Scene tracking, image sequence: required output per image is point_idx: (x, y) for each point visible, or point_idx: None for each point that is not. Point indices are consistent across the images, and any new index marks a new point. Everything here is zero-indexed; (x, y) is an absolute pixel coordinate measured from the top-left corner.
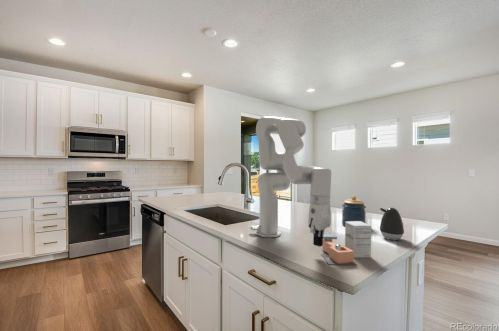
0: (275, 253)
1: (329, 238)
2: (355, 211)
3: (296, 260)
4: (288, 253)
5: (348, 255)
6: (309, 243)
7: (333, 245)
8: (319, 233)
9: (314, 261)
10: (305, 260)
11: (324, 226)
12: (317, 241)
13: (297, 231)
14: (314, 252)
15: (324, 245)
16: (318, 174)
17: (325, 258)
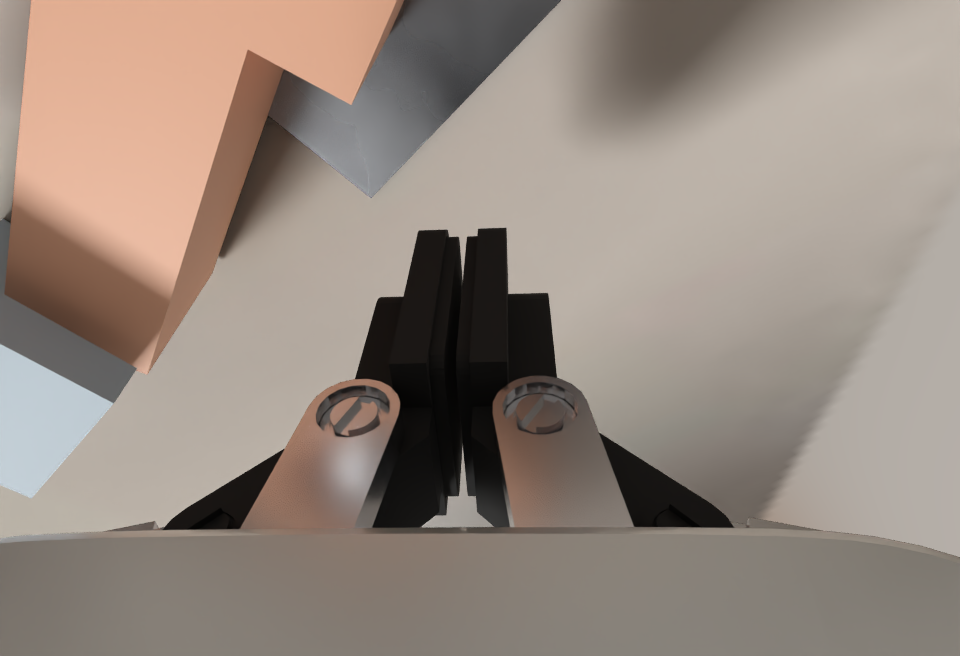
0: (757, 511)
1: (10, 311)
2: None
3: (836, 294)
4: (667, 447)
5: None
6: (187, 462)
7: (182, 72)
8: (589, 457)
9: (721, 111)
10: (764, 221)
11: (502, 648)
12: (550, 332)
13: None
14: (388, 291)
15: (195, 275)
16: None
17: (505, 36)
